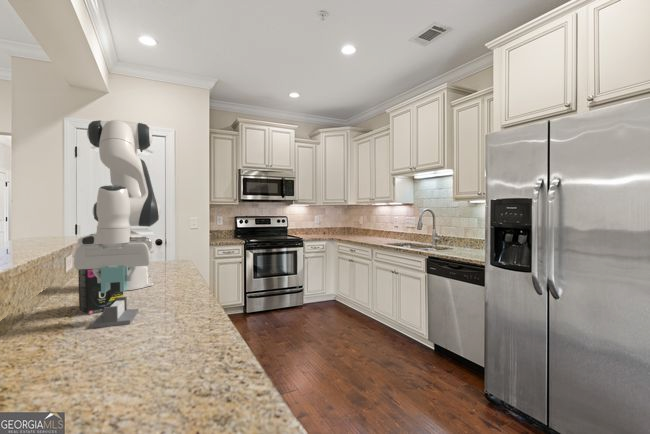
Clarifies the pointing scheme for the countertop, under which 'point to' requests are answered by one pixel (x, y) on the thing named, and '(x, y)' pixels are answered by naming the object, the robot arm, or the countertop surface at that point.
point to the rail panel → (115, 314)
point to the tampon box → (95, 292)
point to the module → (113, 277)
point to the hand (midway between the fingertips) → (115, 281)
